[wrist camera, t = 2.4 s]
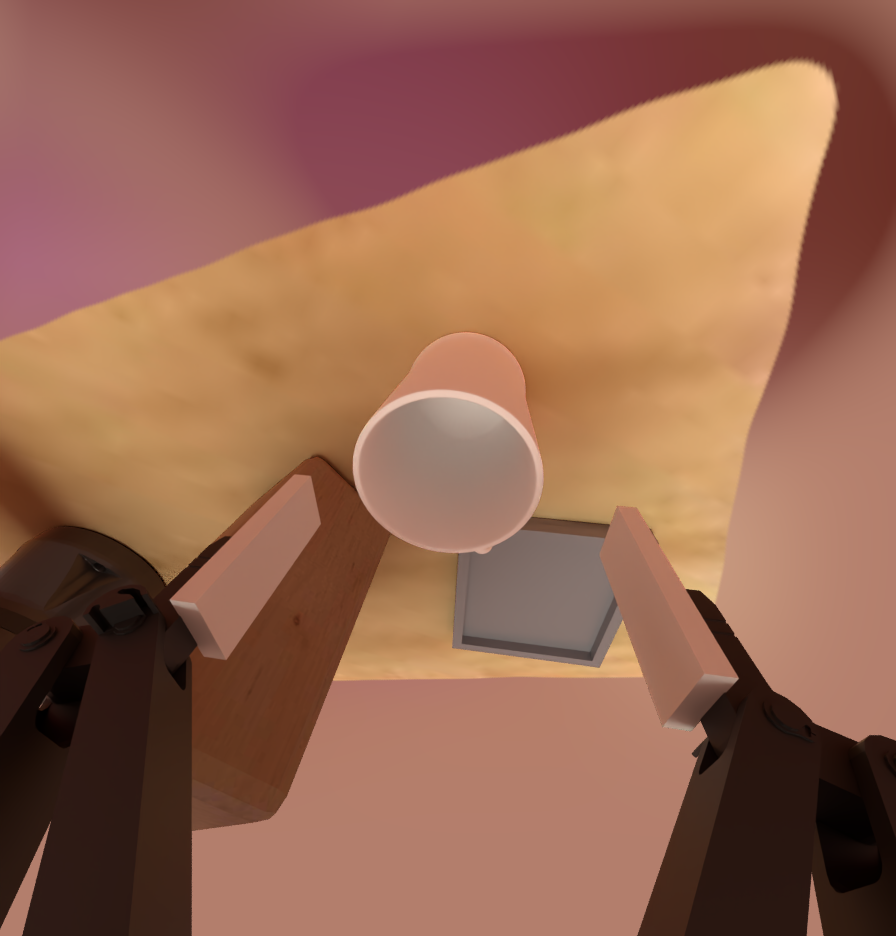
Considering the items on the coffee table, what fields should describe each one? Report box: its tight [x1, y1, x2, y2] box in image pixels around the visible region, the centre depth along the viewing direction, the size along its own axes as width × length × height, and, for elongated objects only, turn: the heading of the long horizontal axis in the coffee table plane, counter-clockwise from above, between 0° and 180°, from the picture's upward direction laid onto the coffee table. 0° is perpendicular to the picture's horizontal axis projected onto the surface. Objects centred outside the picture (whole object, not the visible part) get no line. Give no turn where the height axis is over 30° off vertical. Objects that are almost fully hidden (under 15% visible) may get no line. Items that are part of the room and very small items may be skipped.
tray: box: [452, 517, 659, 668], centre depth 33 cm, size 16×18×2 cm
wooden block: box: [187, 457, 390, 831], centre depth 23 cm, size 10×10×20 cm
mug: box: [353, 332, 544, 554], centre depth 20 cm, size 12×8×12 cm
